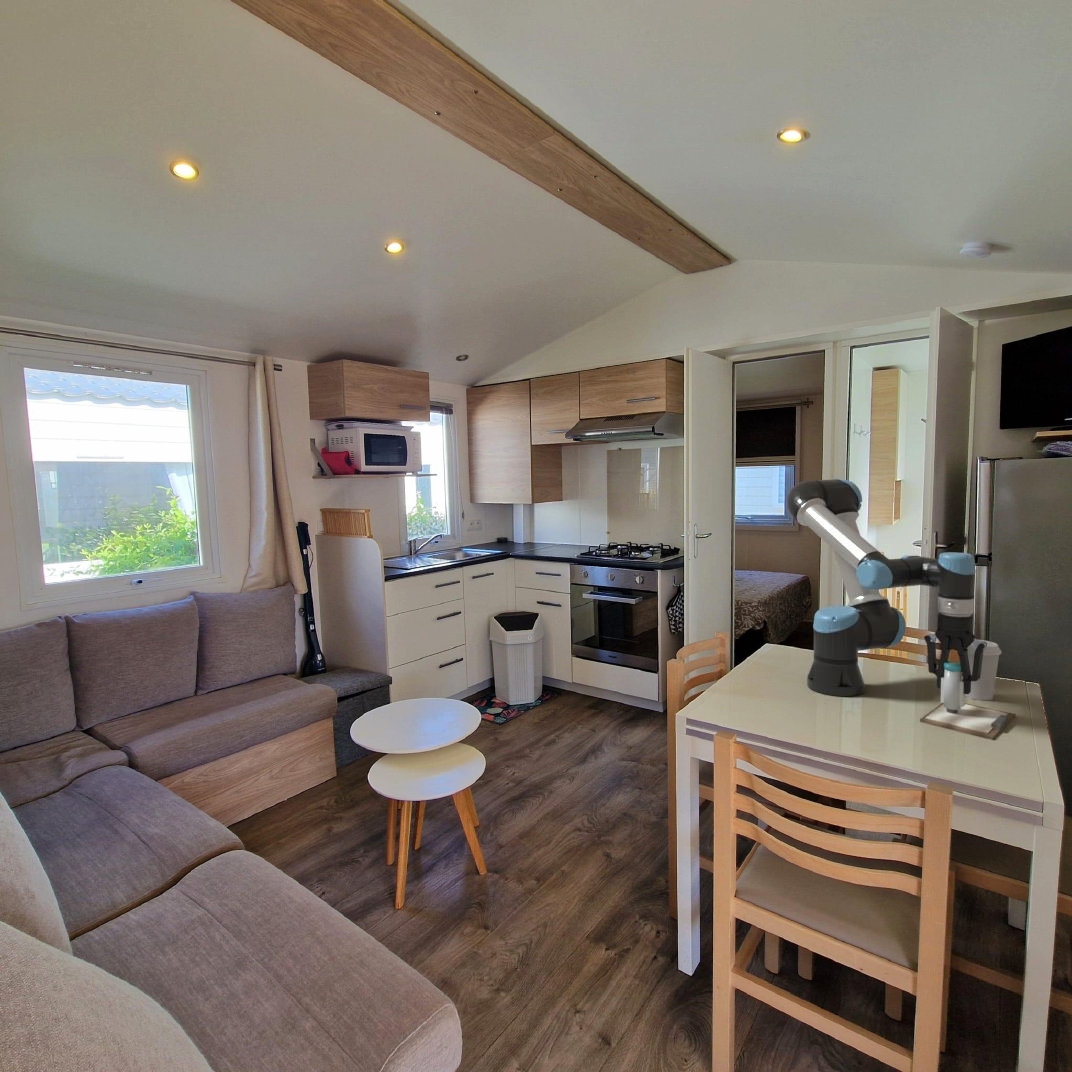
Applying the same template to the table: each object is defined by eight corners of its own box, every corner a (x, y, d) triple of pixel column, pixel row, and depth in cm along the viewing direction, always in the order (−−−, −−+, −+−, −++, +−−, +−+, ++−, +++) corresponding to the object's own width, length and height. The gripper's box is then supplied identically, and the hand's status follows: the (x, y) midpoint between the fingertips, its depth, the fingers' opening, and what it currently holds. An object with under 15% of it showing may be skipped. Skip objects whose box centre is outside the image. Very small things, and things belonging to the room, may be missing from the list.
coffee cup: (1007, 703, 164) (1009, 648, 162) (967, 701, 165) (968, 647, 164) (988, 690, 173) (990, 638, 171) (950, 689, 175) (952, 638, 173)
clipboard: (919, 721, 154) (920, 715, 153) (947, 701, 166) (947, 695, 166) (992, 739, 142) (992, 733, 142) (1015, 716, 155) (1015, 710, 155)
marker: (940, 711, 158) (941, 663, 157) (948, 707, 160) (949, 660, 159) (956, 715, 154) (957, 667, 153) (964, 712, 157) (965, 664, 155)
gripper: (913, 611, 159) (912, 699, 161) (990, 621, 147) (987, 716, 149) (924, 607, 164) (922, 692, 166) (999, 616, 151) (996, 708, 153)
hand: (953, 703), depth 157 cm, fingers closed on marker, 3 cm apart
